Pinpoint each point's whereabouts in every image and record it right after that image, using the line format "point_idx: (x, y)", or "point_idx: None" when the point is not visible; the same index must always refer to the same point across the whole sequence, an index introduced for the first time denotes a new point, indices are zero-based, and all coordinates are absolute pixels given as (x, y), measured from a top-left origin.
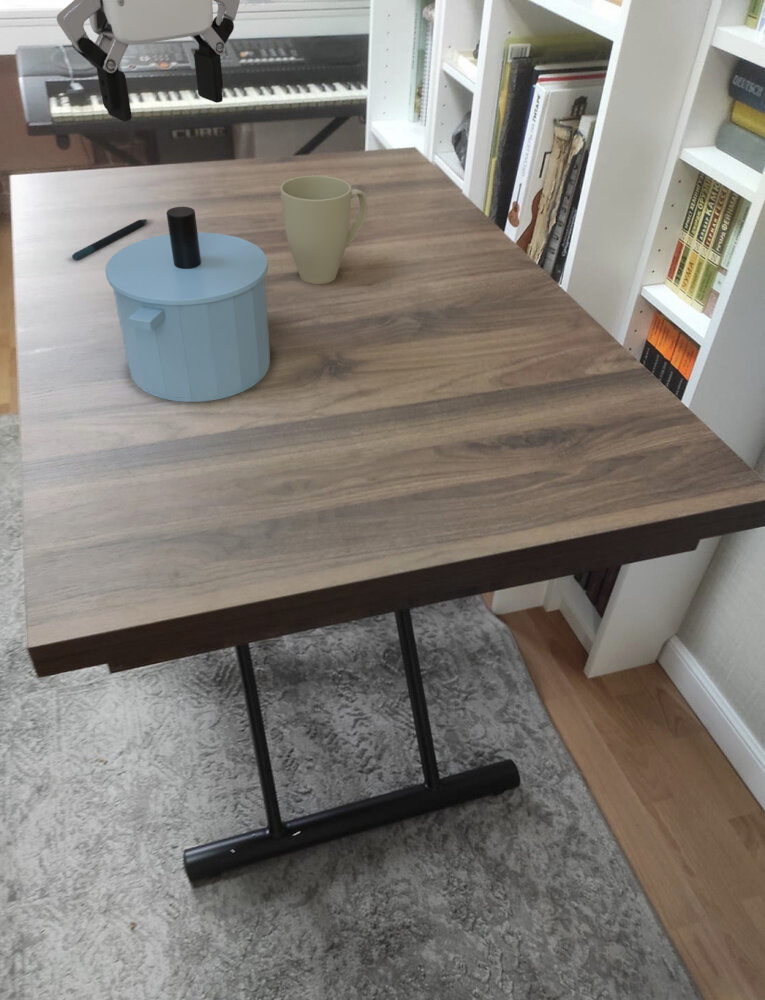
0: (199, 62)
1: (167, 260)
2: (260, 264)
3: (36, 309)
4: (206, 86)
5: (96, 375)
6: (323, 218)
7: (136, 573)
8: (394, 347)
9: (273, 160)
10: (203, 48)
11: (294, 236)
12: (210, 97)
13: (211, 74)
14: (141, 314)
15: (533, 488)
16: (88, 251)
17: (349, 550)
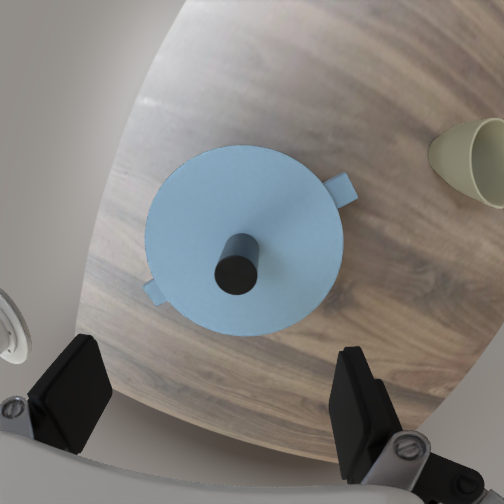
0: (352, 429)
1: (226, 225)
2: (307, 306)
3: (182, 26)
4: (337, 403)
5: (165, 173)
6: (471, 195)
7: (113, 367)
8: (390, 304)
9: None
10: (363, 472)
11: (444, 158)
12: (331, 395)
13: (339, 445)
14: (155, 290)
15: (311, 436)
16: None
17: (206, 417)
